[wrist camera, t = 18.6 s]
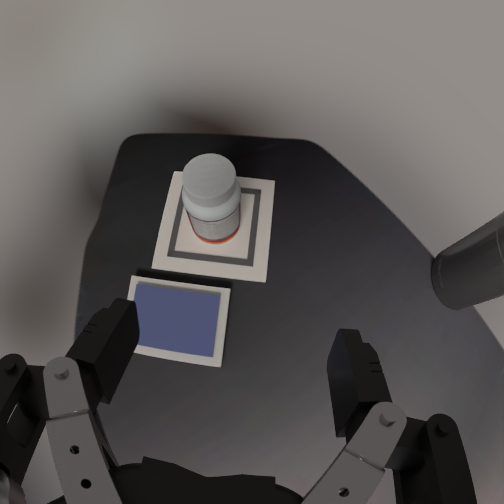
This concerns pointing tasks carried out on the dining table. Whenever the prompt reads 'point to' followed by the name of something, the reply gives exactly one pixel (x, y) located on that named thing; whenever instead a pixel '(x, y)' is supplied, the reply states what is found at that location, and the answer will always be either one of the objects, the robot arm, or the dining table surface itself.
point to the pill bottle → (212, 198)
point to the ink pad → (180, 320)
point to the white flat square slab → (224, 255)
